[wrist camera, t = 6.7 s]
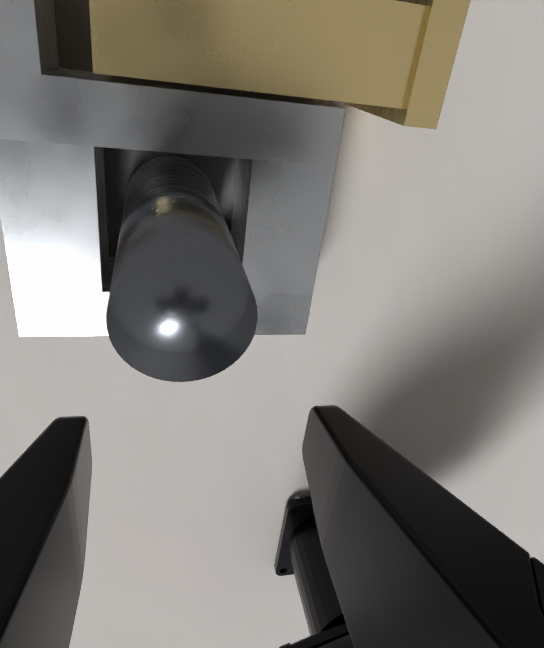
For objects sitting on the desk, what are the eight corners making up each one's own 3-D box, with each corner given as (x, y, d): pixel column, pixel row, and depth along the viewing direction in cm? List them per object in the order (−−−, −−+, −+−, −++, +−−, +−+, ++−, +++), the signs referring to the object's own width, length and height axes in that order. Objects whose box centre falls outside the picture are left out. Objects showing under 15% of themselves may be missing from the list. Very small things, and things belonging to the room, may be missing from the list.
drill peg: (212, 243, 19) (250, 379, 12) (127, 239, 18) (109, 384, 11) (216, 159, 18) (265, 254, 10) (125, 152, 17) (102, 249, 9)
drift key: (371, 107, 18) (436, 129, 14) (107, 76, 16) (93, 92, 11) (392, 2, 16) (472, -8, 12) (103, -48, 14) (83, -80, 10)
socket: (286, 298, 21) (305, 334, 19) (37, 295, 19) (19, 336, 16) (338, -42, 15) (375, -56, 13) (-17, -109, 13) (-57, -144, 10)
